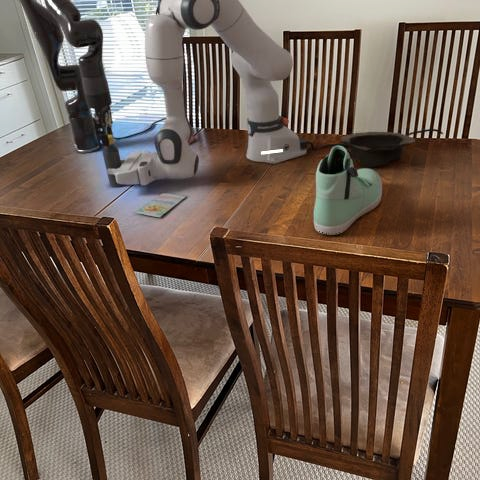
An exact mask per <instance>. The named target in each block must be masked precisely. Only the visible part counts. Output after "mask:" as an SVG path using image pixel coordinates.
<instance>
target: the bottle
mask: <svg viewBox="0 0 480 480" xmlns="http://www.w3.org/2000/svg"><path fill="white" fill-rule="evenodd" d="M102 156H103V161H104V165H105V169H106V174H107V179H108V182H109V186H110V187H111V188H119V187H123V186H124V185H125V184H119V183H117V182H116V178H115V175H113V174H108V172H107V170H108V168H114V169H117V168H120V167H121V165H122V164H121V155H120V151H119V149H118V147H117V146H116V145H115V144H114V143H113V144H110V145H109V146H103V149H102Z"/></svg>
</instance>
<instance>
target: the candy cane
mask: <svg viewBox="0 0 480 480" xmlns="http://www.w3.org/2000/svg"><path fill="white" fill-rule="evenodd" d="M194 141H195V137H194V136H193V135H192V136H191V139H190V140H189V141H188V144H189V145H190V144H191V143H193V142H194Z"/></svg>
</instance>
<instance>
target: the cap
mask: <svg viewBox="0 0 480 480" xmlns="http://www.w3.org/2000/svg"><path fill="white" fill-rule="evenodd" d="M114 137H115V136H114V134H113V135H108V139H109V145H110V144H113V145H114V144H115V139H114Z"/></svg>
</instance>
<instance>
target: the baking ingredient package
mask: <svg viewBox="0 0 480 480" xmlns="http://www.w3.org/2000/svg"><path fill="white" fill-rule="evenodd" d="M185 198H186V195H185V196H184V195H178V194H172V193H168V192H167V193H166V192H162V193H160V194H159V195H157V197H155V198H153V199H152V200H151V201H149V202H148V203H147V204H145V205H144V206H143V207H141V208H140V209H138V210H137V211H135V214H139V215H144V216H150V217H155V218H161V217H162V216H163V215H164V214H166V213H168V211H170V210H171V209H172V208H173V207H175V206H176V205H177V204H179V203H180V202H181V201H182V200H184V199H185Z"/></svg>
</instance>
